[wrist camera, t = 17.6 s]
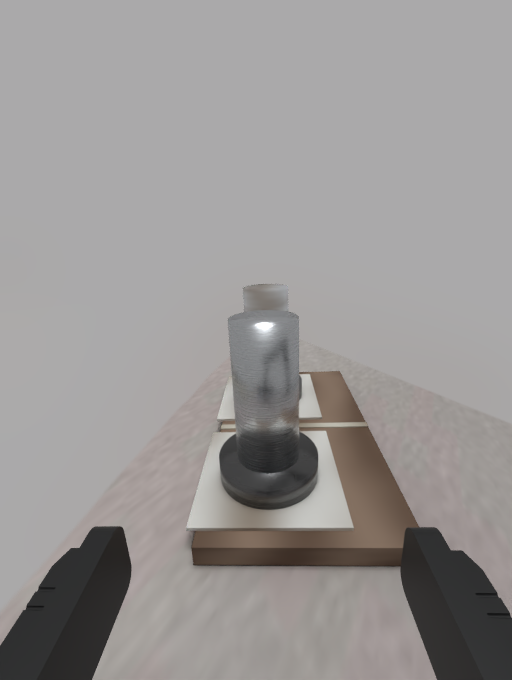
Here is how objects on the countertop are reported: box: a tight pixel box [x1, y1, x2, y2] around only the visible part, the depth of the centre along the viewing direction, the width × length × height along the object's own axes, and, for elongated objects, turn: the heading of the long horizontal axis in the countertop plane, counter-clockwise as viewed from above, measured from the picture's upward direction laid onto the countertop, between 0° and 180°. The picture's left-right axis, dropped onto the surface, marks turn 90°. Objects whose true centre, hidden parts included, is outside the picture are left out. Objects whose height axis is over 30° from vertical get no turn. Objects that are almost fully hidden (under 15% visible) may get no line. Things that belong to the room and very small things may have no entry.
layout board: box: [186, 284, 419, 566], centre depth 26 cm, size 12×22×12 cm, turn 178°
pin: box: [219, 310, 318, 510], centre depth 20 cm, size 6×6×10 cm
